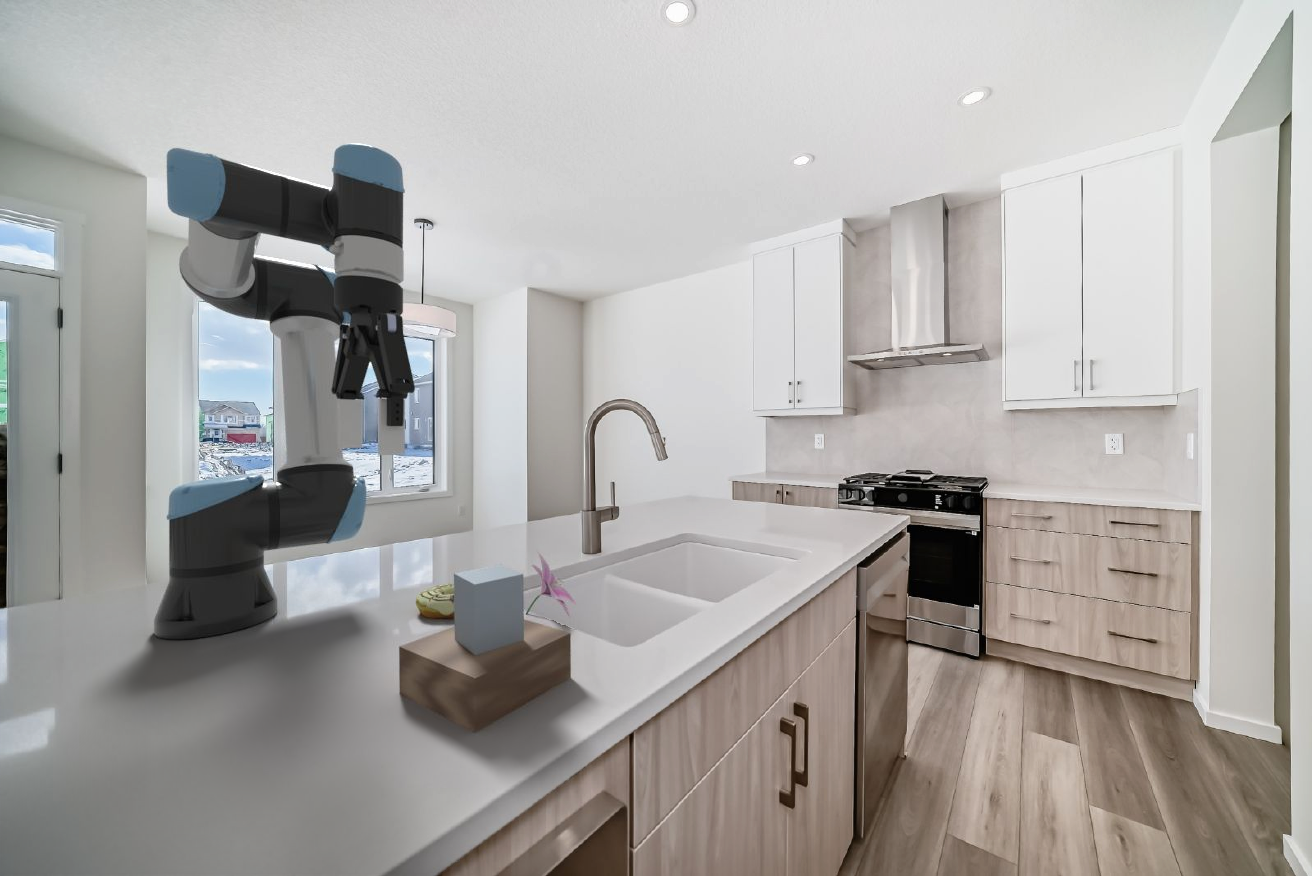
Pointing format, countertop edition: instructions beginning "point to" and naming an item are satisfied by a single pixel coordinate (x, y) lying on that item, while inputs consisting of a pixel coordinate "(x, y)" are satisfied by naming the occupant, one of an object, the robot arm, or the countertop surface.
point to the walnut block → (483, 674)
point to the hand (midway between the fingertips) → (369, 451)
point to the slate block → (488, 608)
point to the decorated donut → (437, 601)
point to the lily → (551, 586)
